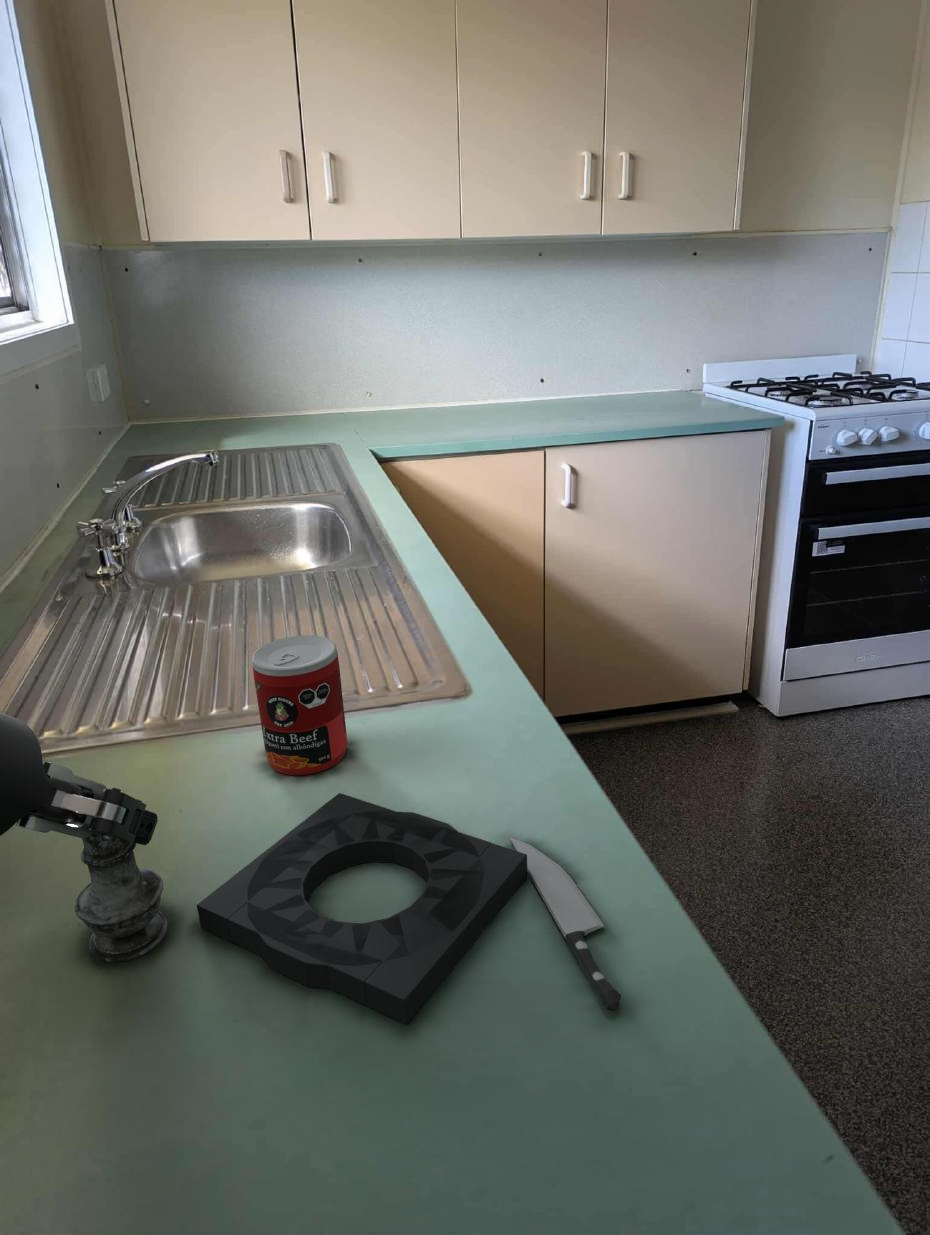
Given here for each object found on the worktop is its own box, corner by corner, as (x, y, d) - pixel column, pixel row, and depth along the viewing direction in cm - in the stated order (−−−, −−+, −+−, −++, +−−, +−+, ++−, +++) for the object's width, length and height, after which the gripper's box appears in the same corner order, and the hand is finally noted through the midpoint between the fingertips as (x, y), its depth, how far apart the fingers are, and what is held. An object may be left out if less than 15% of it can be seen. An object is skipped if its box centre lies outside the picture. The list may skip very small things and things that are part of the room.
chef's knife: (543, 834, 71) (508, 839, 70) (544, 822, 71) (509, 827, 70) (651, 1008, 54) (606, 1018, 53) (653, 994, 53) (607, 1003, 53)
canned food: (252, 773, 82) (235, 666, 78) (290, 731, 89) (276, 631, 85) (327, 781, 80) (314, 672, 76) (360, 738, 87) (349, 636, 83)
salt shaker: (66, 954, 61) (25, 808, 56) (123, 900, 66) (90, 761, 61) (134, 973, 59) (98, 823, 54) (188, 915, 64) (159, 773, 59)
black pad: (194, 932, 62) (190, 909, 61) (345, 809, 75) (343, 789, 75) (401, 1031, 53) (399, 1006, 52) (531, 871, 66) (530, 850, 66)
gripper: (-200, 808, 47) (31, 859, 62) (-8, 858, 42) (193, 901, 57) (-136, 678, 50) (71, 757, 65) (52, 711, 45) (229, 788, 60)
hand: (127, 824), depth 61 cm, fingers closed on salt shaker, 3 cm apart
